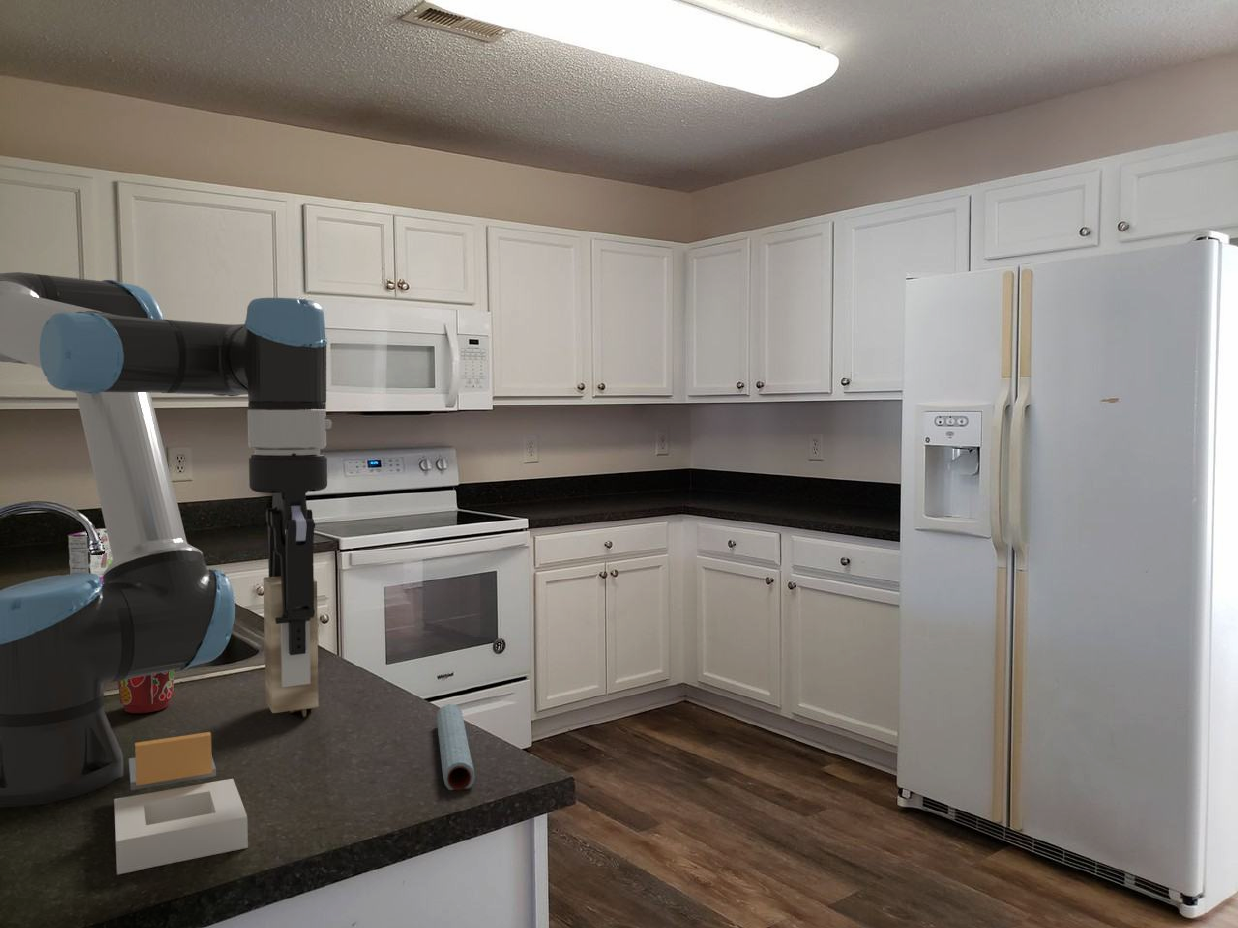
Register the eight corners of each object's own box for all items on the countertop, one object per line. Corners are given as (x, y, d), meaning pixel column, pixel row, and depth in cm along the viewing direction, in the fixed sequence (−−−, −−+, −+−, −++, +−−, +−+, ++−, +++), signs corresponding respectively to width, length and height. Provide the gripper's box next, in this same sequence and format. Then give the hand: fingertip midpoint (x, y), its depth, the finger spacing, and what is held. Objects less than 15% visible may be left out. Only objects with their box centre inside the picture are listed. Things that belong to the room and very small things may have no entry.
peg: (272, 713, 95) (270, 584, 94) (265, 701, 99) (263, 577, 98) (318, 706, 97) (317, 580, 97) (310, 695, 101) (308, 574, 101)
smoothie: (189, 707, 135) (185, 567, 134) (127, 720, 129) (122, 574, 128) (165, 695, 141) (161, 561, 140) (104, 708, 135) (100, 568, 134)
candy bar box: (97, 599, 219) (95, 528, 218) (119, 599, 219) (117, 528, 218) (69, 608, 208) (66, 534, 207) (91, 608, 208) (89, 534, 207)
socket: (116, 874, 85) (115, 841, 85) (115, 828, 95) (114, 798, 94) (247, 847, 90) (247, 816, 90) (233, 806, 100) (233, 778, 100)
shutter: (131, 794, 95) (129, 747, 95) (128, 765, 103) (127, 721, 103) (217, 779, 99) (216, 734, 99) (208, 752, 107) (207, 710, 107)
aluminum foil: (436, 729, 126) (436, 704, 126) (487, 725, 127) (487, 700, 127) (443, 794, 104) (443, 764, 104) (505, 789, 105) (504, 758, 105)
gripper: (345, 455, 91) (347, 695, 92) (309, 448, 106) (312, 654, 108) (262, 456, 87) (266, 706, 89) (238, 449, 103) (241, 662, 104)
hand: (291, 677), depth 98 cm, fingers closed on peg, 4 cm apart
